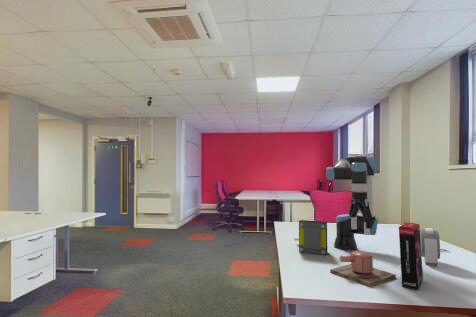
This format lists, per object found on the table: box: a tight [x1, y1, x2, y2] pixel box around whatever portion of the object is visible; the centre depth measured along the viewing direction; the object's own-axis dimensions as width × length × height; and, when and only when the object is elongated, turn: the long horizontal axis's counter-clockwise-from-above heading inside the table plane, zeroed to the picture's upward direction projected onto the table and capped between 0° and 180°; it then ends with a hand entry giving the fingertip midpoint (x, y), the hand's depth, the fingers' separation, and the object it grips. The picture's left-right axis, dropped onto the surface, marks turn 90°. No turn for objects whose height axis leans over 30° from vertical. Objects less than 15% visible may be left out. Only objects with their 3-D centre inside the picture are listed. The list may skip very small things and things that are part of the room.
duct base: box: [329, 263, 397, 288], centre depth 136 cm, size 22×22×10 cm
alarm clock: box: [420, 227, 441, 268], centre depth 156 cm, size 18×8×20 cm, turn 148°
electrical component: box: [298, 219, 328, 256], centre depth 178 cm, size 18×10×20 cm, turn 68°
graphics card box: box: [398, 221, 424, 291], centre depth 126 cm, size 17×7×27 cm, turn 139°
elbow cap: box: [339, 250, 374, 273], centre depth 136 cm, size 16×9×8 cm, turn 92°
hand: (360, 231), depth 141 cm, fingers open, 13 cm apart
